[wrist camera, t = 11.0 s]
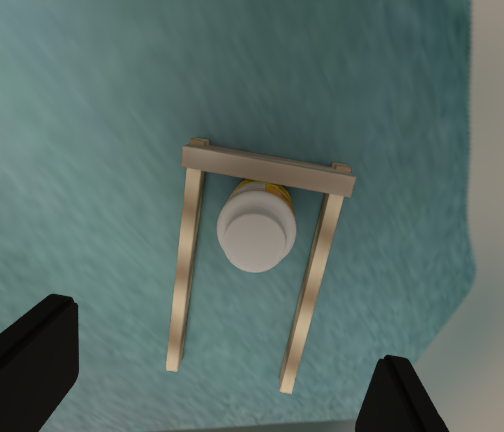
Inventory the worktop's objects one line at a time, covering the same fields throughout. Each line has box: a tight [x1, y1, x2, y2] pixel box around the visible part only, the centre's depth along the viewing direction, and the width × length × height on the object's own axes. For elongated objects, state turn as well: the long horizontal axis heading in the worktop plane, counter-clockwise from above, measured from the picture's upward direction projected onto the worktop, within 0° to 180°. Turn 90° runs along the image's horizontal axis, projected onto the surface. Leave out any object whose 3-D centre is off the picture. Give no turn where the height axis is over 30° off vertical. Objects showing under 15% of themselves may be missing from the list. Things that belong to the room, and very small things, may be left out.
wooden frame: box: [166, 138, 356, 394], centre depth 29 cm, size 24×13×4 cm, turn 170°
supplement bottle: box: [217, 178, 296, 273], centre depth 24 cm, size 6×6×10 cm
